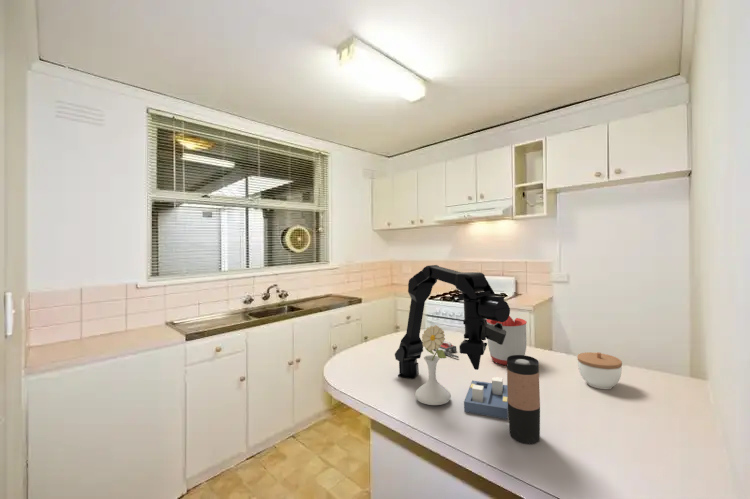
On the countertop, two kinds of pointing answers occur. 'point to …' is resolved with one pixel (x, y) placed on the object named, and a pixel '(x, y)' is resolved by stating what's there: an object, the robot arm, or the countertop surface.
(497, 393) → the right tab
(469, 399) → the switch panel
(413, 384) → the countertop surface
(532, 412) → the travel mug
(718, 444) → the countertop surface
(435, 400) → the flower in vase
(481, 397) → the left tab
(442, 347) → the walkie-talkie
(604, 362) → the lidded bowl
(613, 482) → the countertop surface
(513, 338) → the citrus juicer
